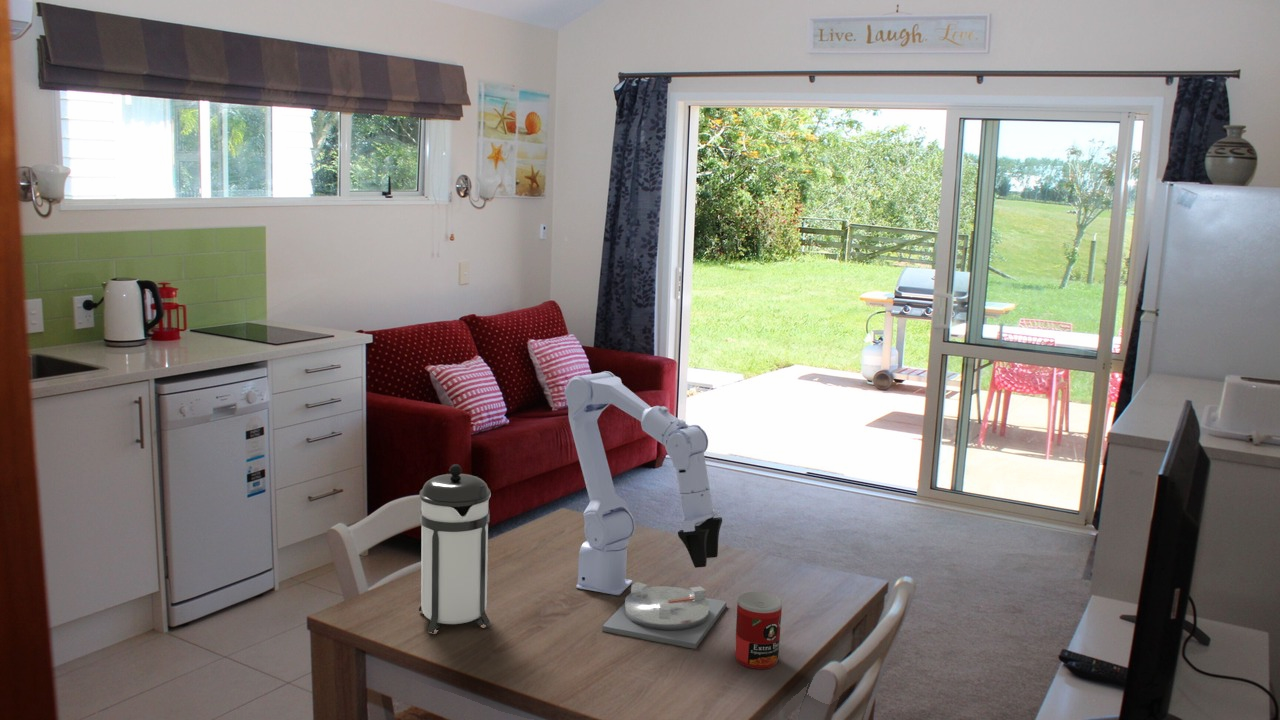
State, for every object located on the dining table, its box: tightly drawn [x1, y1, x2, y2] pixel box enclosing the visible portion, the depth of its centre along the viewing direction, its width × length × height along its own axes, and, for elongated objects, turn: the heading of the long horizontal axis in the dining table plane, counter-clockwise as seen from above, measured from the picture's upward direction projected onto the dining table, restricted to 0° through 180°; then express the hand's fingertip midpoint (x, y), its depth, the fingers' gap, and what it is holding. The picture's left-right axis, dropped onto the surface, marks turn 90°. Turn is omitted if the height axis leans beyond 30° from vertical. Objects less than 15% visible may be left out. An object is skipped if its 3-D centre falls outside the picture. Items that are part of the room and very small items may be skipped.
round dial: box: [624, 581, 709, 630], centre depth 196 cm, size 16×16×4 cm
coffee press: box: [418, 463, 492, 633], centre depth 191 cm, size 17×16×30 cm
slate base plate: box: [601, 597, 727, 650], centre depth 197 cm, size 18×21×1 cm
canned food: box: [734, 591, 783, 670], centre depth 180 cm, size 8×8×11 cm
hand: (706, 562), depth 194 cm, fingers open, 7 cm apart
